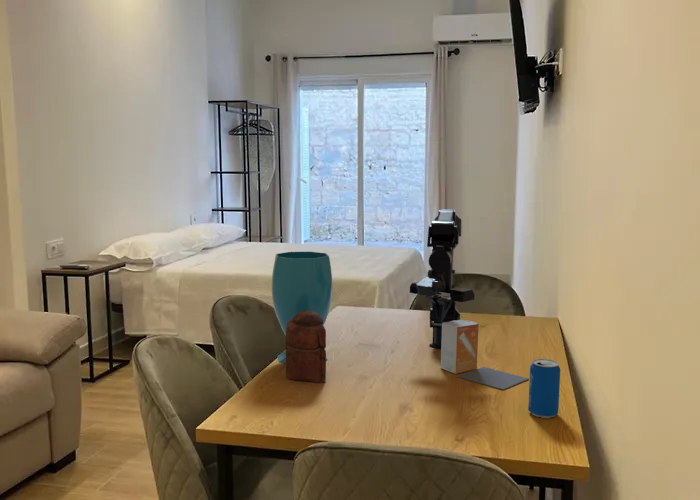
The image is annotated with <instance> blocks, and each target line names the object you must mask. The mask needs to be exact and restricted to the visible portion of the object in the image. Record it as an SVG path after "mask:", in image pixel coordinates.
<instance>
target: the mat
mask: <svg viewBox="0 0 700 500" xmlns="http://www.w3.org/2000/svg"><path fill="white" fill-rule="evenodd" d="M457 378H459V379H462V380H467V381H470V382H473V383H475V384H476V383H477V384H480V385H483V386H487V387H490V388H494V389H498V390H501V391H505V390H507V389H510V388H512V387H515V386H516V385H519V384H522V383H524V382H526V381H530V378H529V377H524V376H521V375H516V374H514V373H509V372H505V371H501V370H498V369H494V368H491V367H486V366H480V367H477V369H476V370H471V371H466V372H463V373H462V374H459V375H457Z"/></svg>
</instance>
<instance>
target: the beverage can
mask: <svg viewBox="0 0 700 500" xmlns="http://www.w3.org/2000/svg"><path fill="white" fill-rule="evenodd" d="M560 384H561V367H560V366H559V362H558V361H556V360H554V359H549V358H536V359H533V360H532V362H531V364H530V366H529V384H528V386H529V387H528V406H527V407H528V411H529V412H530V413H531V415H532V416H534V417H536V418H539V417H541V418H540V419H551V418H550V417H553V418H554V417H555V416H557V415H558V414H559V408H560V407H559V404H560Z"/></svg>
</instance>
